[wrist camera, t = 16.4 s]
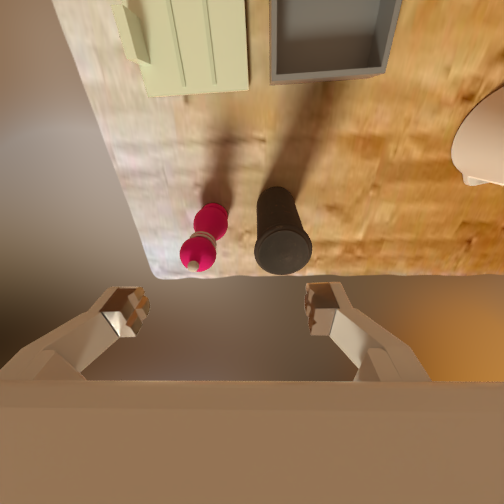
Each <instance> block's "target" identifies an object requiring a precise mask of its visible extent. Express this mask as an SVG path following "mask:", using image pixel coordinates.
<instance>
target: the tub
mask: <svg viewBox="0 0 504 504" xmlns="http://www.w3.org/2000/svg"><path fill="white" fill-rule="evenodd" d="M401 3H402V0H269V45H270V85H283V84H296V83H310V82H324V81H338V80H352V79H366V78H370V77H374V76H377V75H380V74H384V73H385V71H386V66H387V62H388V58H389V54H390V49H391V45H392V41H393V37H394V32H395V28H396V24H397V20H398V15H399V11H400V7H401Z"/></svg>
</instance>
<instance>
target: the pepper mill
mask: <svg viewBox="0 0 504 504" xmlns="http://www.w3.org/2000/svg"><path fill="white" fill-rule="evenodd" d="M227 219H228V214H227V211H226V210H225V208H224V207H222V206H221V205H219V204H217V203H209V204H207V205H205V206H204V207H203V208H202V209H201V210H200V211H199V212H198V213H197V214H196V216H195V219H194V230H195V233H193V234H192V235H191V236H190V238H189V239H188V240H186V241H185V242H184V243H183V245H182V247H181V249H180V259H181V261H182V263H183V265H184V266H185V267H186V268H188V270H189V271H191V272H201V271H205V270H207V269H209V268H210V267H211V266H212V265H213V263H214V262H215V259H216V250H215V249H216V240H218V239H220V238H221V237H223V236H224V234H225V233H226V231H227V228H228V221H227Z"/></svg>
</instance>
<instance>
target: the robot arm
mask: <svg viewBox="0 0 504 504" xmlns="http://www.w3.org/2000/svg"><path fill="white" fill-rule="evenodd" d="M451 154H452V161H453V163H454V165H455V167H456V168H457V169H458V170H459V171H461V173H462V174H463V180H464V183H465V184H466V185H469V186H475V185H480V184H484V183H489V182H491V183H495V184H499V185H504V86H503V87H502V88H500V89H499V90H497V91H495V92H494V93H492V94H491V95H489V96H488V97H487V98H485V99H484V100H483V101H482V102H481V103H479V104H478V105H477V106H476V107H475V108H474V109H473V110H472V111H471V113H470V114H469V115H468V116H467V117H466V119H465V120H464V121H463V123H462V125H461V126H460V128H459V130H458V131H457V134H456V136H455V138H454V141H453V145H452V152H451ZM306 292H307V294H306V295H305V299H304V306H305V312H306V315H307V316H308V317H309V319H308V325H309V329H310V333H311V335H330V337H331V338H332V340H333V341H334V342H335V343H336V344H337V345H338V346H339V347H340V348H341V350H342V351H343V352H344V353H345V354H346V355H347V356H348V357H349V358H350V359H351V361H352V362H353V363H354V364H355V365H356V366H357V367H358V368H359V370H358V372H357V374H356V376H355V378H354V381H352V382H351V381H336V382H335V381H86V379H85V378H84V377H83V376H82V375H81V374H80V372H81V371H82V370H83V369H85V368H86V367H87V366H88V365H89V364H90V363H91V362H92V361H93V360H95V359H96V358H97V357H98V356H99V355H100V354H101V353H103V352H104V351H105V350H106V349H107V348H108V347H109V346H111V345H112V344H113V343H114V342H115V341H116V340H117V339H118V338H119V337H135V336H137V334H138V332H139V330H140V328H141V327H142V320H143V319H145V318H146V317H147V315H148V314H149V311H150V301H149V299H148V298H147V297H145V296H144V293H145V291H144V289H143V288H142V287H110V288H108V289H107V290H106V291H105V292H104V293H103V294H102V296H101V297H100V298H99V299H98V300H97V301H96V302H95V304H94V305H93V306H92V307H91V308H90V310H88V312H87V313H82V314H80V315H79V316H77V317H75V318H74V319H72V320H70V321H69V322H67V323H65V324H63V325H62V326H60V327H58V328H56V329H55V330H53V331H51V332H50V333H48V334H46V335H44V336H43V337H41V338H39V339H38V340H36V341H34V342H32V343H31V344H29V345H27V346H26V347H24V348H22V349H21V350H20V351H19V352H18V353H17V354H16V355H15V356H14V357H13V358H12V359H11V360H10V361H9V362H8V363H7V364H6V365H5V366H4V367H3V368H2V369H1V370H0V504H504V382H432V381H431V379H430V378H429V376H428V374H427V373H426V371H425V370H424V368H423V367H422V365H421V363H420V362H419V360H418V359H417V357H416V356H415V354H414V353H413V351H412V349H411V348H410V347H409V346H408V345H406V344H405V343H403V342H402V341H401V340H399V339H398V338H397V337H395V336H394V335H392V334H391V333H390V332H388V331H387V330H385V329H384V328H383V327H381V326H380V325H378V324H377V323H376V322H374V321H373V320H372V319H370V318H369V317H367V316H366V315H365V314H363V313H362V312H361V311H359V310H358V309H353V307H352V305H351V303H350V301H349V299H348V297H347V295H346V293H345V291H344V289H343V287H342V285H341V283H340V282H326V283H307V285H306Z"/></svg>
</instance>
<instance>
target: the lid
mask: <svg viewBox="0 0 504 504" xmlns="http://www.w3.org/2000/svg"><path fill="white" fill-rule="evenodd" d="M111 8H112V11H113V14H114V18H115V21H116V25H117V28H118V31H119V35H120V38H121V42H122V45H123V49H124V52H125V55H126V59H127V60H130V61H132V62H135V63H137V64H139V66H140V70H141V74H142V77H143V81H144V85H145V88H146V92H147V96H148V97H164V96H178V95H192V94H206V93H221V92H235V91H249V82H248V61H247V41H246V21H245V1H244V0H122V4H120V5H111Z"/></svg>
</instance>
